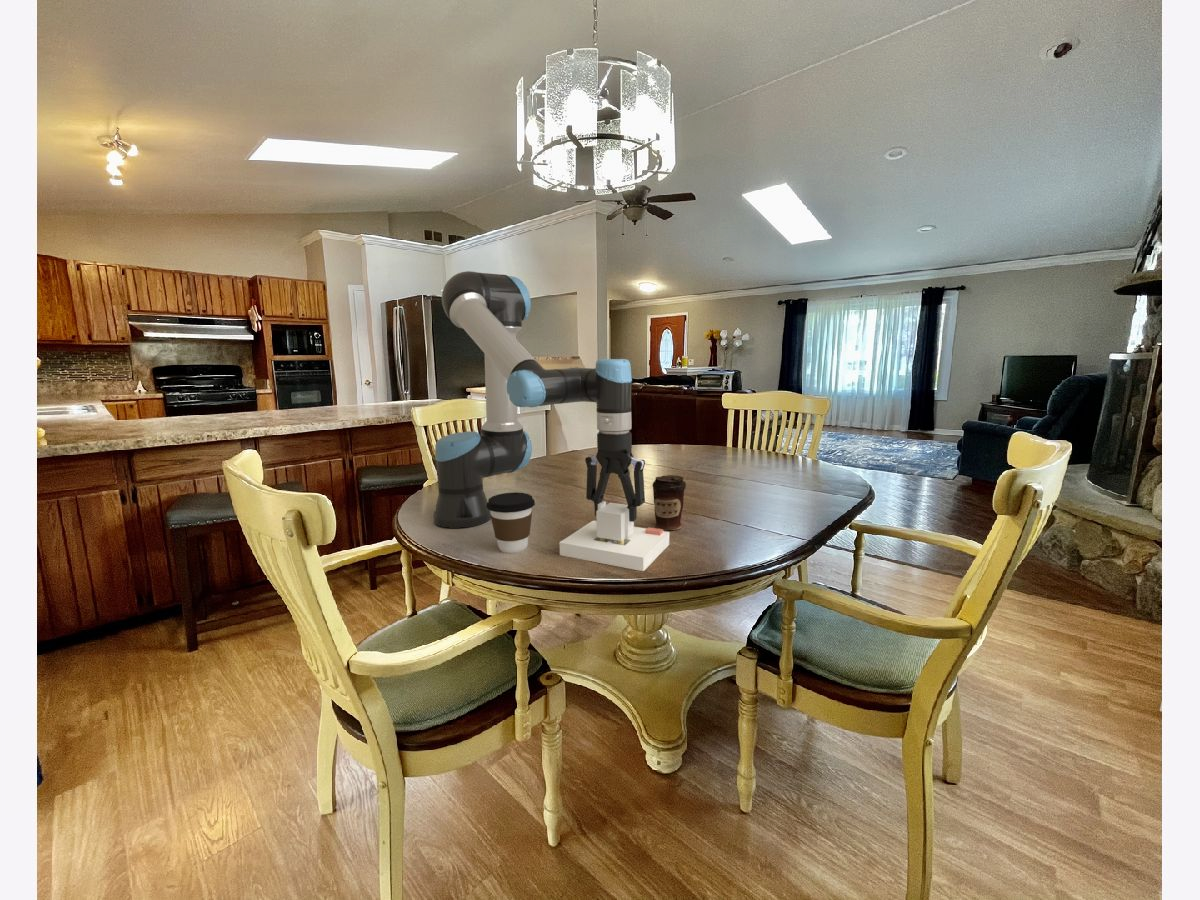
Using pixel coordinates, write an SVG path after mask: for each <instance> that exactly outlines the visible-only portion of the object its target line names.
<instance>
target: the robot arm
mask: <svg viewBox="0 0 1200 900" xmlns="http://www.w3.org/2000/svg"><path fill="white" fill-rule="evenodd" d="M441 304H442V308H443V311H444V313H445V315H446V316H447V318H448V319H449V320H450V322H451V323H452V324H453V325H454V326H455V327H457V328H459V329H463V330H464V331H465V332H466V334H467V335H468V336H469V337H470V338H471V340H473V342H474V343H475V344H476V345H477V346H478V347H479V349H480V350H481V351H482V352H483V354H484V375H485V376H484V377H485V378H484V382H485V383H484V385H485V411H486V412H485V414H486V415H485V416H486V418H485V419H486V421H485V422H484V423H483V424H482V425H481V427H480V429H481V430H480V431H481V432H480V433H479V432H478V431H473V430H471V431H462V432H461V431H460V432H455V433H450V434H447V435H444V436H443V437H440V438H439V439H438V440H437V441H436V443H435V444H434V445H435V446H434V447H435V449H434V452H435V453H434V459H435V464H436V465H435V466H436V477H437V489H438V496H437V500H436V505H435V510H434V513H433V523H434V525H436V526H437V525H438V526H437V527H440V526H442V527H441V528H444V527H449V528H448V529H461V528H460V527H466V528H470V527H475V526H480V525H482V524H485V523H486V522H487V523H488V521H490V520H491V513H490V510H489V509H487V503H488V499H487V497H486V494H485V491H484V483H483V482H484V480H483V479H484V478H489V477H494V476H498V475H502V474H510V473H514V472H516V471H520V470H522V469H524V468H526V466H527V465H528V463H530V460H531V457H532V453H533V452H532V450H533V445H532V441H531V440H530V437H531V436H529V434H528V432H526V431H525V430H524V426H523V425H522V423H520V421H519V420H518V408H537V407H542V406H543V407H545V406H551V405H560V404H571V403H580V402H581V403H582V402H585V403H596V430H598V432H597V433H596V447H597V453H596V455H593V454H592V455H589V456H587V457H584V458H585V459H584V461H585V464H586V467H587V469H586V491H585V492H586V493H585V494H586V496H585V497H586V498H585V499H587V500H588V501H592V502H593V503H594V505H593V506H594V516H595V517H596V511H597V510H599V509H601V508H602V507H604V506H606V505H607V500H606V501H605V498H604V497H605V492H606V490H607V486H608V482H609V479H610V475H612V474H614V475H617V477H618V479H619V480H620V484H621V487H622V490H623V493H624V498H625V501H626V503H627V504H626V505H628V506H627V507H626V508H625V536H627V537H629V536H630V535H631V534H632V533H633V522H634V523H635V521H637V517H638V516H637V515H638V514H637V507H641V506H642V505H643V504H645V502H646V497H645V481H644V479H645V478H644V469H645V466H646V461H645V460H644V459H637V458H635V457H634V455H633V453H632V443H633V442H632V441H633V440H632V432H631V430H632V423H633V422H632V421H633V420H632V382H633V377H632V368H631V362H630V361H629V360H628V359H626V358H608V359H607V358H605V359H602V358H601V359H597V360H596V362H595V367H594V368H592V367H591V368H590V367H589V368H588V367H587V368H586V367H577V366H576V367H569V368H568V367H567V368H555V369H554V368H553V369H552V368H551V369H550V368H549V369H546V368H544V367H543V366H542V365H541V364H540V363H539V362H538V361H537V360H536V359H535V358H534V357H533V355H532V354H531V353H530V352H528V350H527V349H526V348H525V347H524V346H523V344H521V343H520V342H519V340H517V334H518V333H519V331H520V330H522V328H523V324H522V322H524V321H525V320H526V319H527V318H528V317H529V313H530V312H531V309H532V308H531V305H532V303H531V295H530V292H529V290H528V288H527V286H526V284H524V282H523V281H522V280H521V279H520V278H518V277H517V276H512V275H507V274H499V273H488V272H487V273H486V272H476V271H471V270H470V271H469V270H467V271H462V272H458V273H456V274H455V275H453V276H450V278H449V279H448V281H446V283H445V285H444V287H443V289H442V293H441ZM598 463H599V465H600V466H601V468H600V472H599V477H598V476H597V474H598V472H597V471H598V465H597V464H598ZM631 465H632V469H633V483H632V479H631V477H630V476H631V475H630V474H631V473H630V469H629V467H630V466H631ZM597 477H598V478H599V479H598V482H597ZM633 485H634V486H633Z"/></svg>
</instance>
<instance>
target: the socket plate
mask: <svg viewBox="0 0 1200 900" xmlns="http://www.w3.org/2000/svg"><path fill="white" fill-rule="evenodd" d="M558 546H559V556H562V557H567V558H571V559H572V558H573V559H578V560H583V561H588V562H593V563H598V564H599V563H600V564H602V565H603V564H604V565H608V566H609V565H610V566H612V567H613V566H615V567H617V568H618V567H619V568H625V569H629V570H634V571H635V570H636V571H640V572H644V571H645V570H647V568H648V567H649V566H651V564H652V563H653V562H654V561H655V560H656V559H657V558H658V557H659V556H660V555H661V554H662V553H663V552H664V551H665V549H667V547H669V546H670V531H666V530H663V529H659V528H657V527H656V528H655V527H650V526H648V527H647V528H646V527H640V526H639V527H638V526H634V531H633V533H632V534H631V535H630V536H629V537H626V538H625V539H624V545H619V544H617V540H611V539H606V542H601V541H600V537H597V523H596V520H592V521H590V522H588V523H587V524H586V525H584V526H582V527H581V528H579V529H578V530H576V531H575V532H573V533H572V534H570V535H568V536H567V537H566V538H564V539H563V540H560V541H559V545H558Z"/></svg>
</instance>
